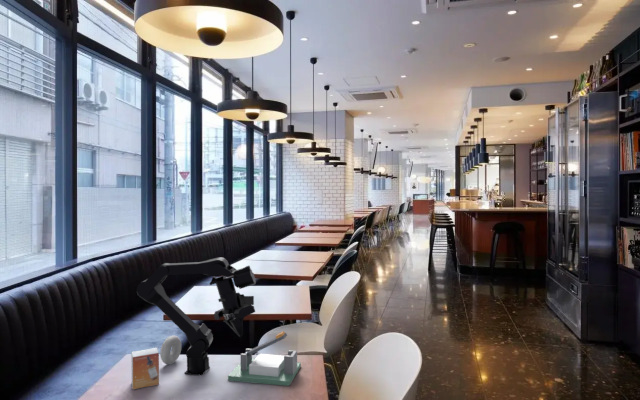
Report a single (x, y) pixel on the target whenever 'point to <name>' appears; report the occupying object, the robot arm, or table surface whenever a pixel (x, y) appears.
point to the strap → (267, 343)
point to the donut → (166, 347)
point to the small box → (145, 368)
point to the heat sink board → (261, 378)
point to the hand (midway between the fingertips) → (240, 336)
